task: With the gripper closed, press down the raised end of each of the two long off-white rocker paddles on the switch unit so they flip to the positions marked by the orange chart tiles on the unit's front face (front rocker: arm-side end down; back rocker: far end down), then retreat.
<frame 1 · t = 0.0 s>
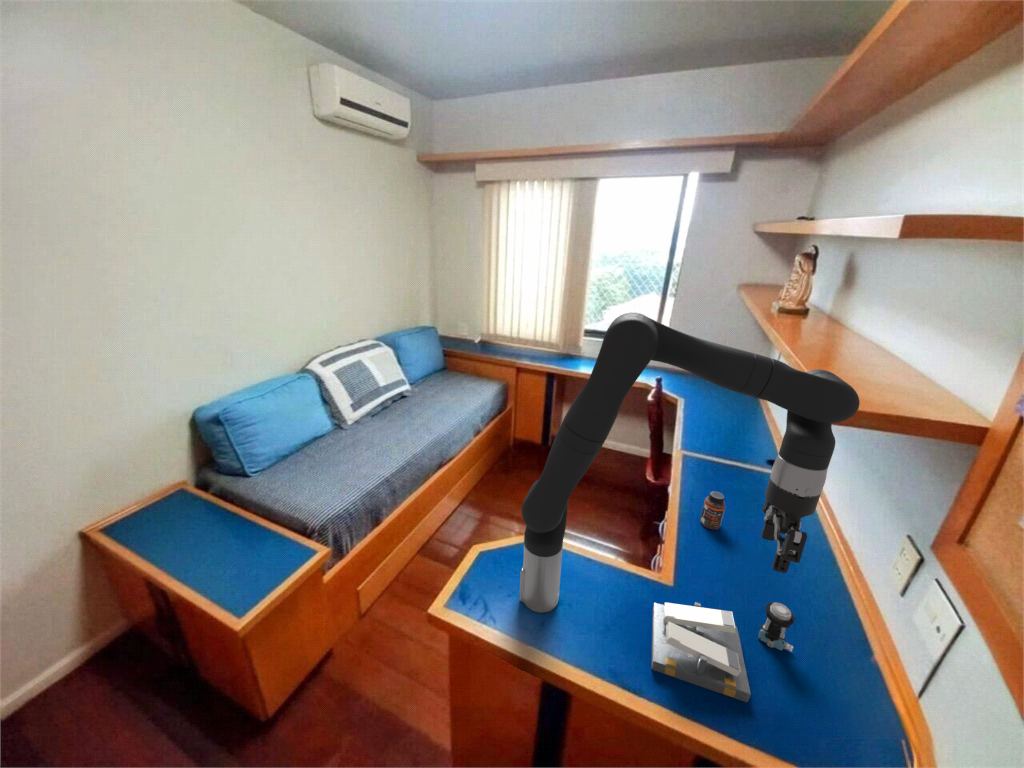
hand: (772, 553, 73), 29 cm above the table, fingers open, 8 cm apart
switch unit: (694, 651, 85), on the table
supplement bottle: (709, 524, 124), on the table
rocker back: (698, 616, 86), point 6 cm above the table, hinge at -12.0°
push button: (773, 644, 87), on the table
rocker front: (701, 647, 80), point 6 cm above the table, hinge at 12.0°
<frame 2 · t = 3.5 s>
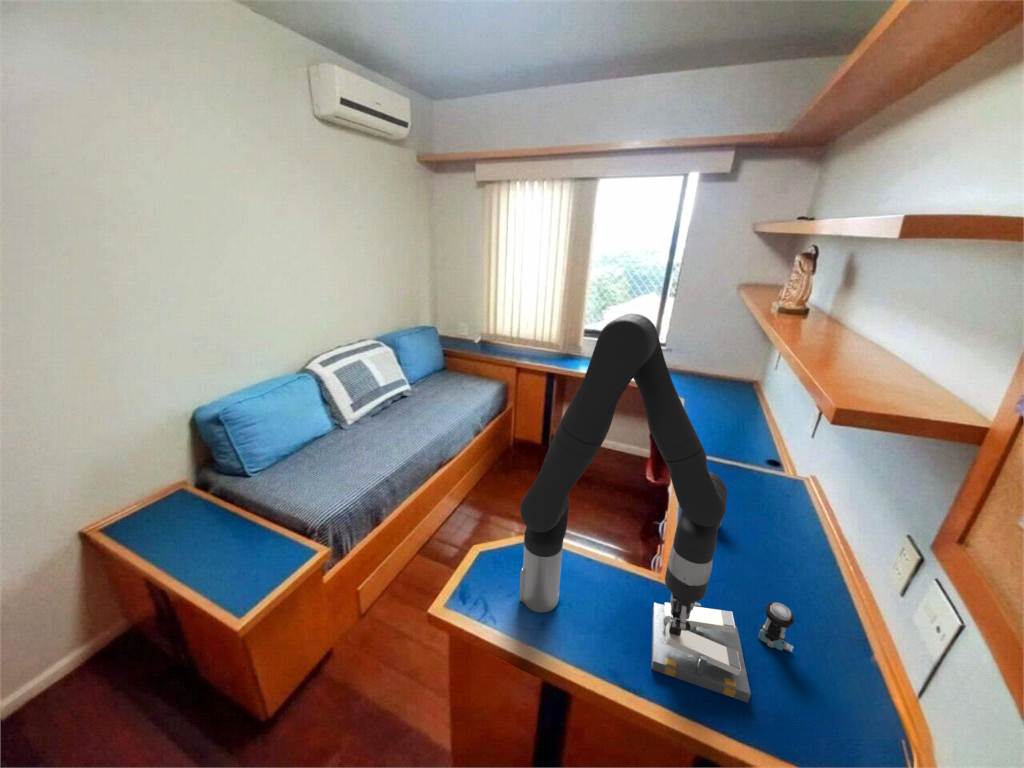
hand: (674, 631, 81), 8 cm above the table, fingers closed
rocker front: (701, 647, 80), point 6 cm above the table, hinge at 8.9°, touching gripper
everything else where it was.
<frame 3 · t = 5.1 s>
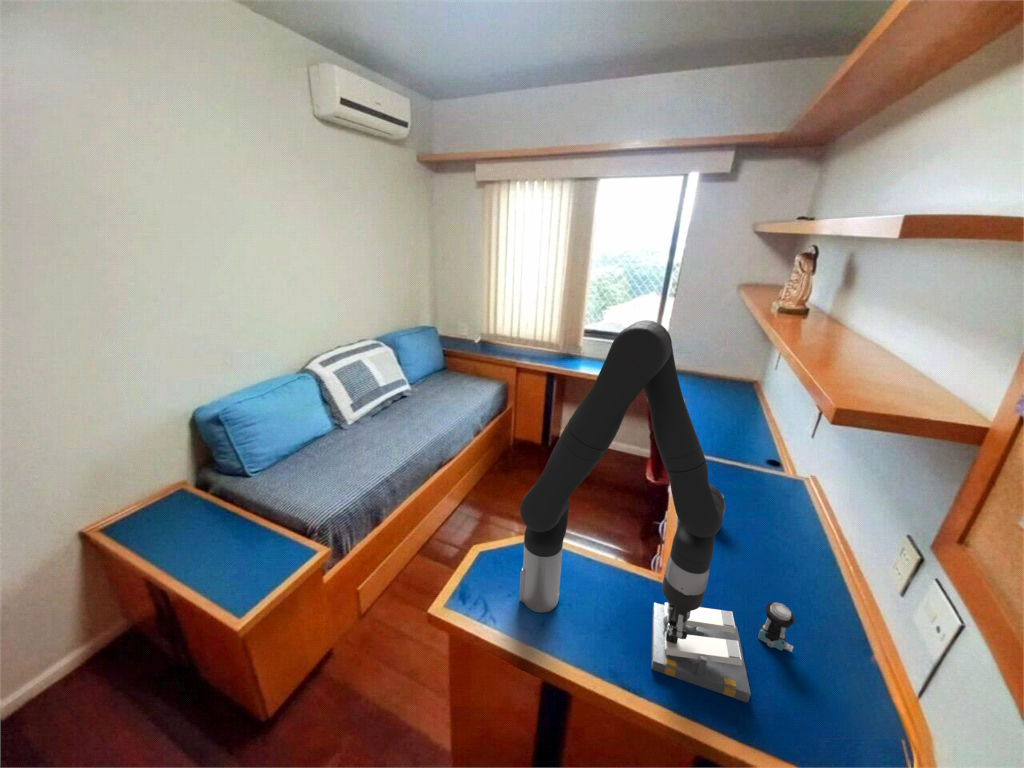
hand: (670, 639, 82), 6 cm above the table, fingers closed
rocker front: (701, 647, 80), point 6 cm above the table, hinge at -15.6°, touching gripper
everything else where it was.
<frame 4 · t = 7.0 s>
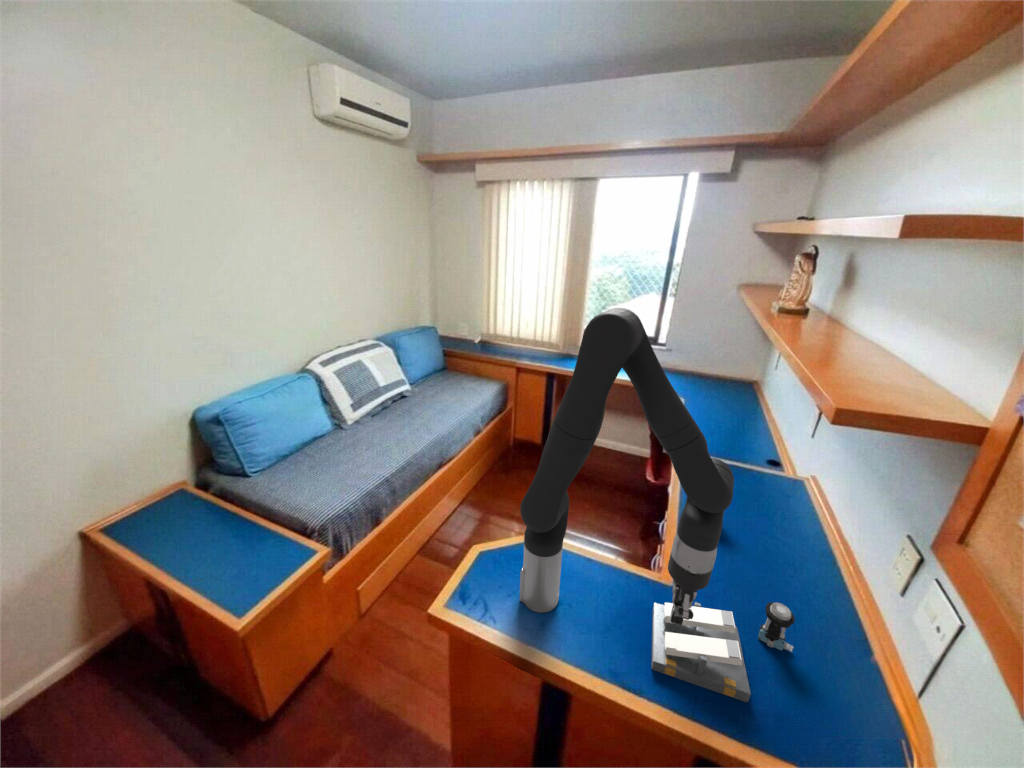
hand: (675, 621, 80), 11 cm above the table, fingers closed
rocker front: (701, 647, 80), point 6 cm above the table, hinge at -15.2°
everything else where it was.
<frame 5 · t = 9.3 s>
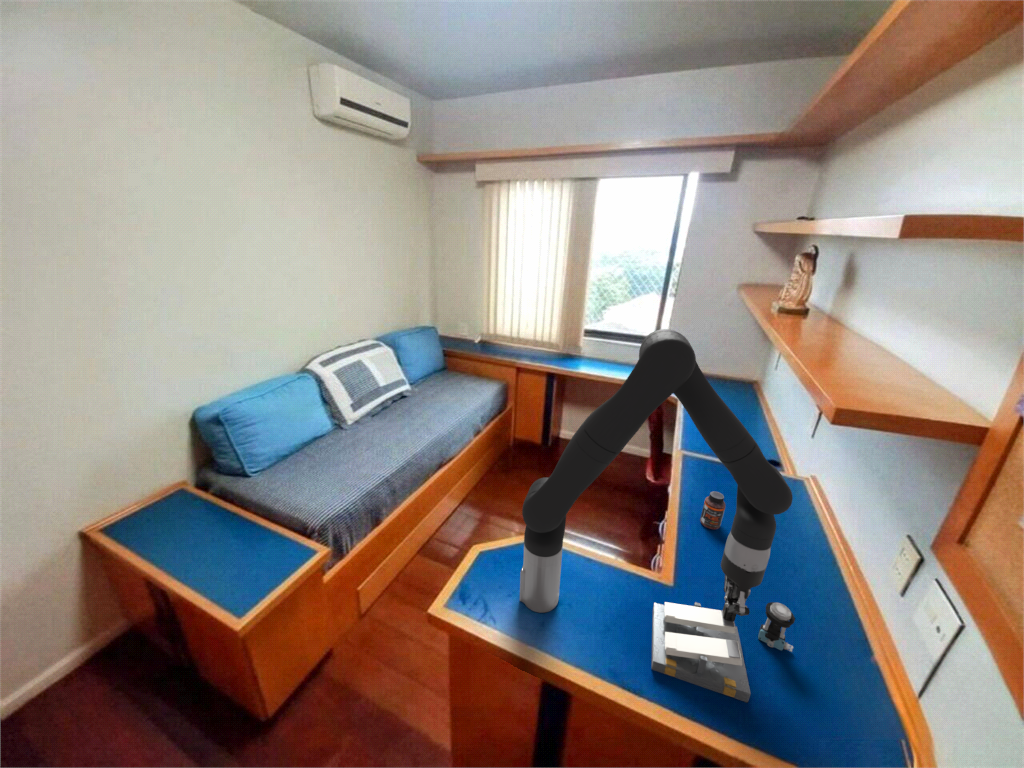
hand: (728, 617, 84), 8 cm above the table, fingers closed
rocker back: (698, 616, 86), point 6 cm above the table, hinge at -10.9°, touching gripper
everything else where it was.
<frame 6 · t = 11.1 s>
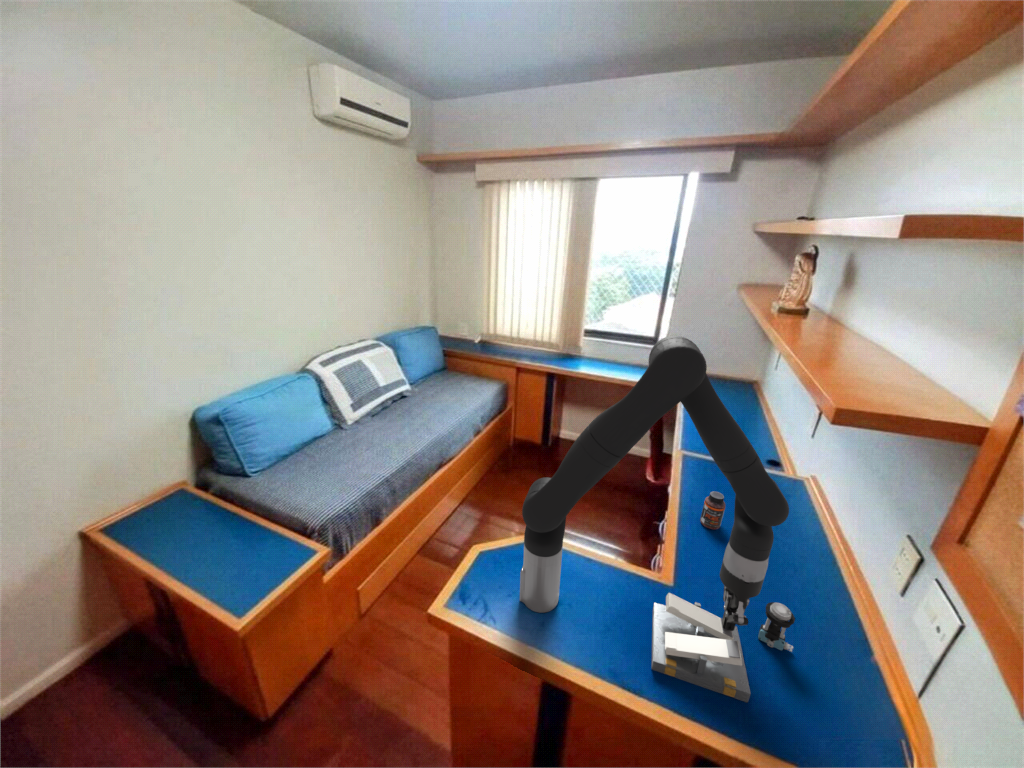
hand: (727, 627, 85), 6 cm above the table, fingers closed
rocker back: (698, 616, 86), point 6 cm above the table, hinge at 15.2°, touching gripper
everything else where it was.
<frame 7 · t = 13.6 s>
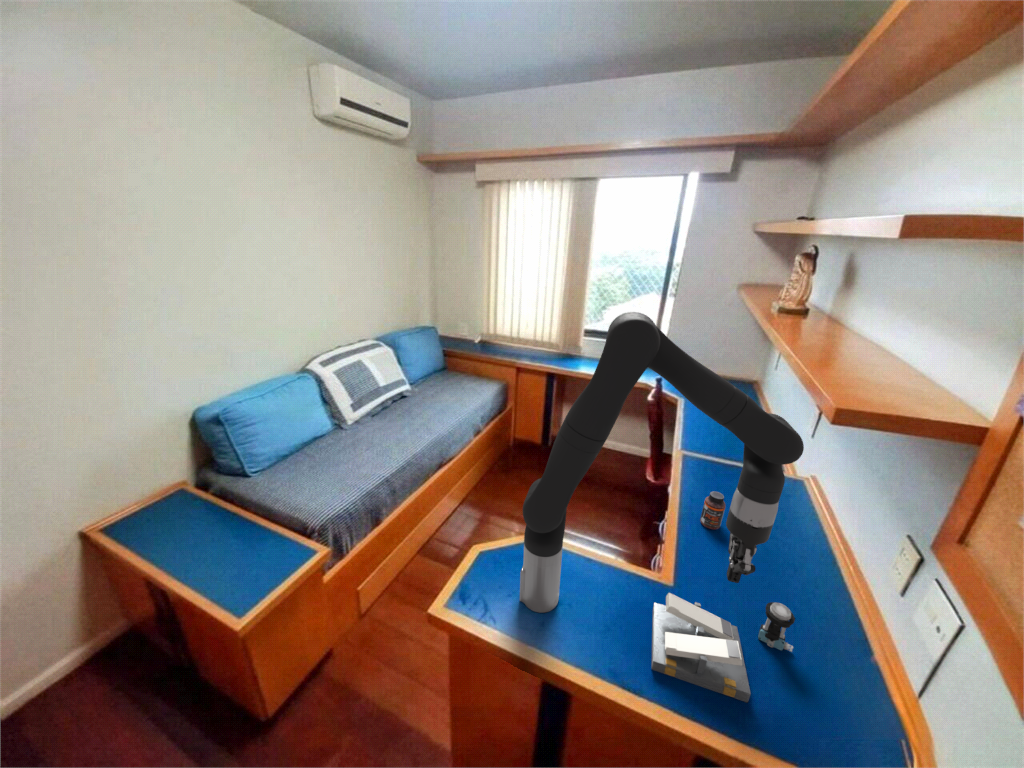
hand: (732, 579, 81), 18 cm above the table, fingers closed
rocker back: (698, 616, 86), point 6 cm above the table, hinge at 15.2°
everything else where it was.
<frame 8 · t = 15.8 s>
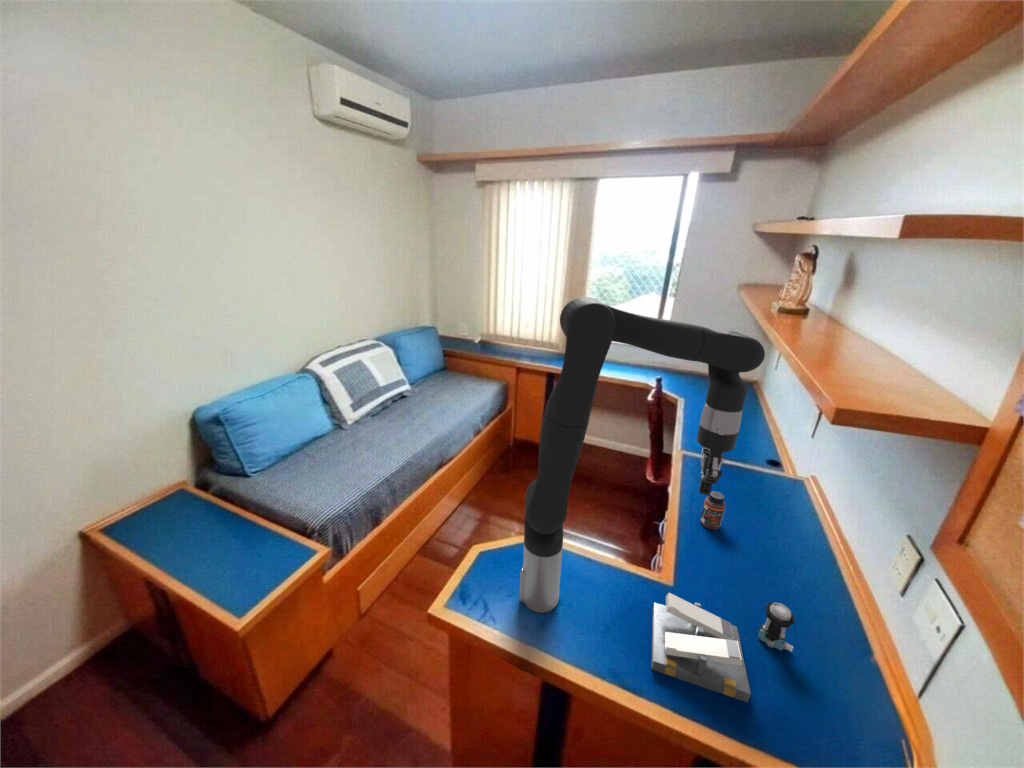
hand: (704, 492, 89), 31 cm above the table, fingers closed
nothing on the table moved.
at the end: rocker front at -15° (first picture: +12°); rocker back at +15° (first picture: -12°) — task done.
